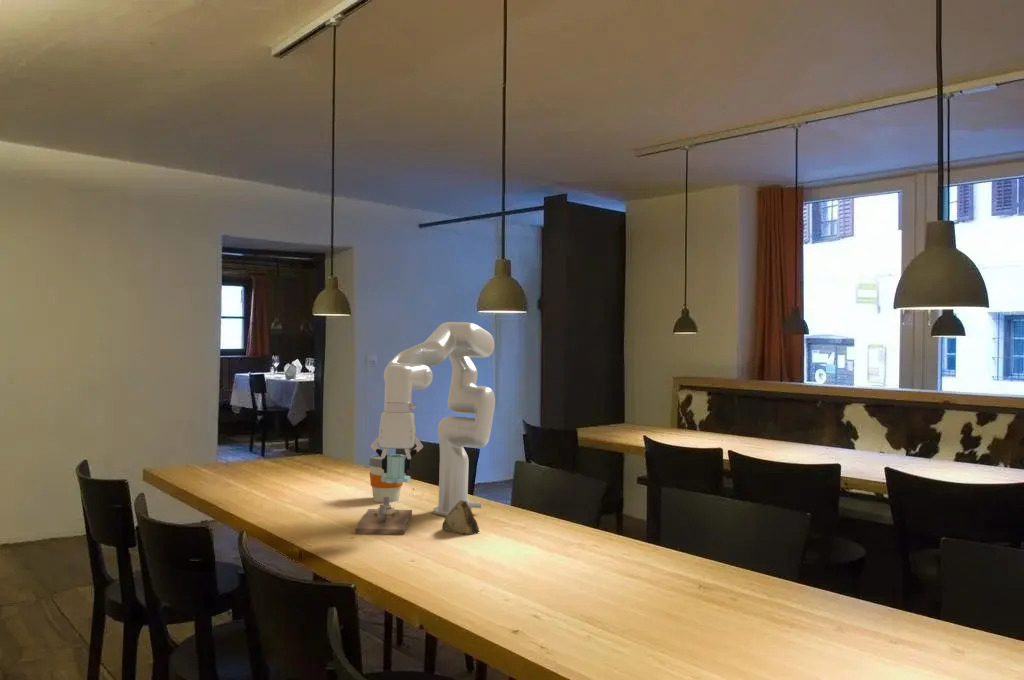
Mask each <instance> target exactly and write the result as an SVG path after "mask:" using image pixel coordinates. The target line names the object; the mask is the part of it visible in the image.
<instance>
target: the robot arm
mask: <svg viewBox="0 0 1024 680" xmlns="http://www.w3.org/2000/svg"><path fill="white" fill-rule="evenodd" d="M494 340H495V339H494V337H493V335H492V334H491V333H490V332H489V331H487V330H486V329H484V328H482V327H481V326H479V325H478V324H476V323H473V322H467V321H466V322H465V321H446V322H442V323H441V324H440V325H439V326H438V327H436V329H435V330H433V332H432V333H431V334H430V335H429V336H428V338H426V339H425V341H424V342H422V343H419V344H415V345H413V346H411V347H409V348H406V349H405V350H402V351H401V352H399V353H397V354H396V355H395V356H394V357H393V358H392V359H391V360H390V361H389V362H388V363H387V365H386V367H385V368H384V372H383V380H384V406H383V412H381V415H380V422H379V428H378V430H379V431H378V436H377V437H376V438H375V439H374V441H373V442H372V443H371V444H370V448H371V449H372V450H373V451H374V452H375V453H376V455H379V456H380V457H381V458H382V470H384V473H387V454H388V452H389V450H390V449H391V450H392V449H395V450H397V449H398V450H404V452H405V455H406V459H405V473H406V474H408V473H409V471H411V464H412V463H411V462H412V461H411V460H412V458H413V457H414V456H415V455H416V454H417V453H418V452H420V451H421V450H422V449H423V448H424V445H423V444H422V442H421V441H420V440H419V439H418V437H417V436H416V420H415V419H416V418H415V413H414V412H412V411H414V410H417V404H414V403H412V392H413V391H412V390H425V389H427V388H428V387H430V385H431V383H432V382H433V378H434V377H433V376H434V374H433V371H432V369H431V367H435V366H438V365H440V364H443V363H444V362H445V360H447V358H449V361H450V363H451V367H452V368H451V370H452V373H451V380H450V385H449V386H450V387H449V392H448V398H447V408H448V409H449V411H451V412H453V413H456V414H462V415H463V414H464V415H465V414H466V415H475V417H466V416H456V415H454V416H452V415H451V416H446V417H443V418H442V419H441V420H440V421H439V423H438V426H437V437H438V443H439V445H438V446H439V475H438V477H439V482H438V501H437V503H438V504H437V505H438V506H435V507H434V508H433V513H434V514H436V515H438V516H443V517H446V516H447V515H448V514H449V512H450V511H451V510H452V509H453V508H454V507H455V505H456V504H457V503H458V502H460V501H461V500H463V501H465V502H466V503H467V505H468V506H469V508H470V509H471V511H472V512H473V509H481V508H482V502H481V501H480V502H479V501H476V500H475V501H471V500H469V496H468V493H469V462H470V460H469V456H468V454H467V451H466V450H465V448H464V447H467V448H477V449H478V448H484V447H486V446H487V445H488V443H489V441H490V438H491V432H492V427H493V421H494V414H495V409H496V408H495V407H496V396H495V392H494V390H493V389H492V388H490V387H488V386H485V385H477V380H478V376H479V375H478V370H477V367H476V365H475V364H474V362H473V360H472V359H471V358H479V359H480V358H483V359H484V358H488V357H490V356H492V354H493V352H494V349H495V341H494ZM415 445H416V447H415V448H414V446H415ZM381 448H382V449H381ZM412 448H413V450H412V451H411V449H412Z"/></svg>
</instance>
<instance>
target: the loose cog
mask: <svg viewBox="0 0 1024 680" xmlns="http://www.w3.org/2000/svg"><path fill="white" fill-rule="evenodd" d="M405 459H406V454H394V453H393V454H391V455H387V473H386V475H384V476H382V477H381V481H382V482H386V483H394V482H396V483H403V484H404V483H409V482H411V476H409V475H406V474H407V473H405Z"/></svg>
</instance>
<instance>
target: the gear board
mask: <svg viewBox="0 0 1024 680" xmlns="http://www.w3.org/2000/svg"><path fill="white" fill-rule="evenodd" d="M382 503H383V504H379V507H378V508H368V509H367V510H366V512H365V514H363V517H362V518H361V520H360V521H359V523H358V524H357V525H356V527H355V532H354V533H355V535H356V534H358V535H362V534H363V535H366V534H367V535H405V533H406V530H407V528H408V525H409V523H410V521H411V518H412V515H413V510H412V509H395V507H393V506H392V504H390V502H389V497H383V502H382Z"/></svg>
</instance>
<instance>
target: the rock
mask: <svg viewBox="0 0 1024 680" xmlns="http://www.w3.org/2000/svg"><path fill="white" fill-rule="evenodd" d="M471 509H472V508H471ZM471 509H470V508H469V506H468V505H467V503H466V502H465V501H463V500H461V501H460V502H458V503H457V504H456V505H455V507H454V508H453V509H452V510H451V511H450V512H449V514H448V515H447V516H444V520H443V523H442V525H441V529H442V531H443V530H444V531H447V530H449V531H448V532H451V531H455V532H454V533H456V532H459V533H458V534H463V533H465V535H475V534H474V533H477V534H479V533H478V532H480V528H479V525H478V522H477V520H476V519H475V517H474V514H473V510H472V511H471ZM480 533H481V532H480Z"/></svg>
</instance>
